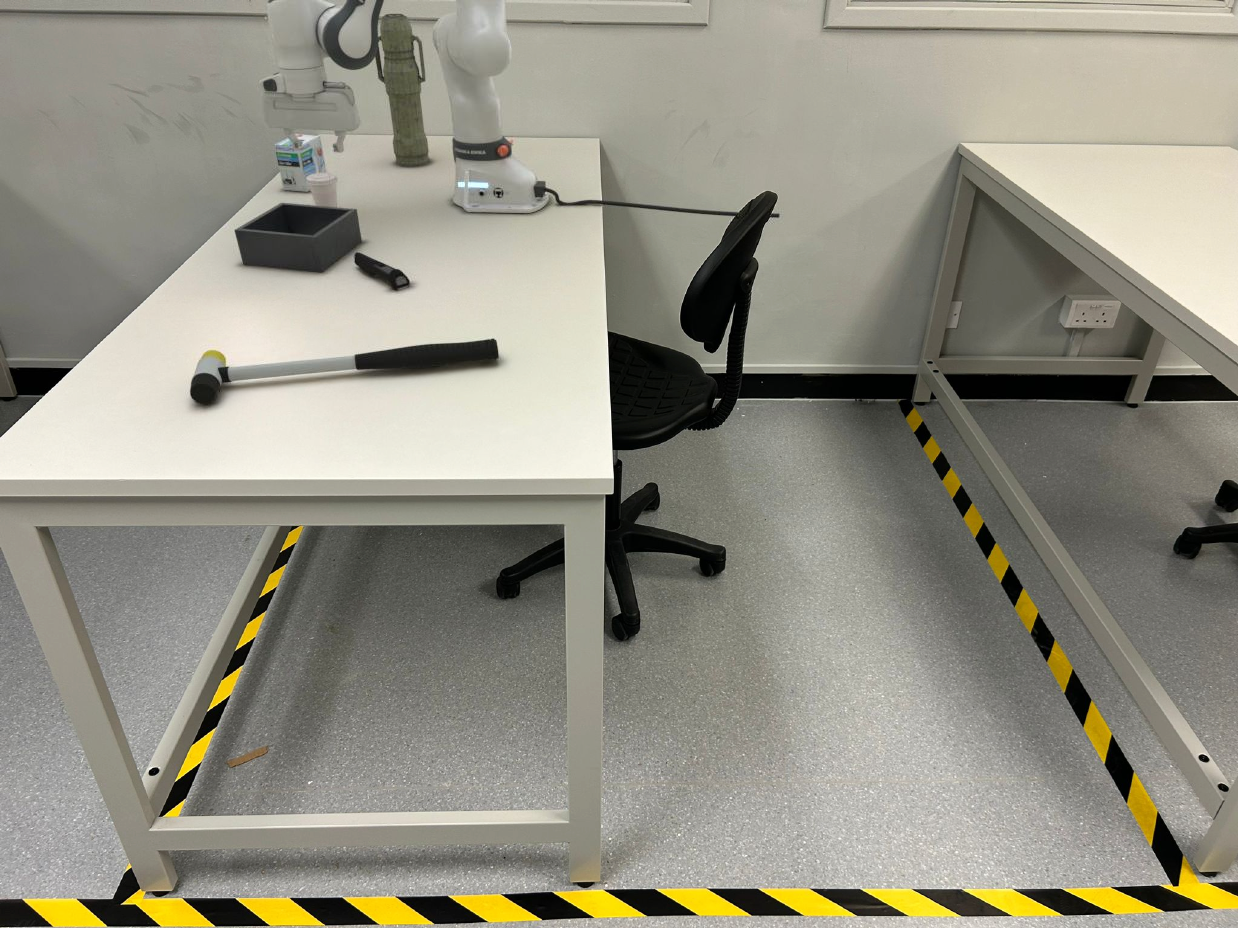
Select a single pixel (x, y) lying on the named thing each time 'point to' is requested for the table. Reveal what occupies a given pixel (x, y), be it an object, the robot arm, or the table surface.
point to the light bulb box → (299, 162)
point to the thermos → (403, 89)
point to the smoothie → (323, 187)
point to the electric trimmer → (382, 271)
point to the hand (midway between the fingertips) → (318, 151)
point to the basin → (299, 237)
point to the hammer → (336, 364)
